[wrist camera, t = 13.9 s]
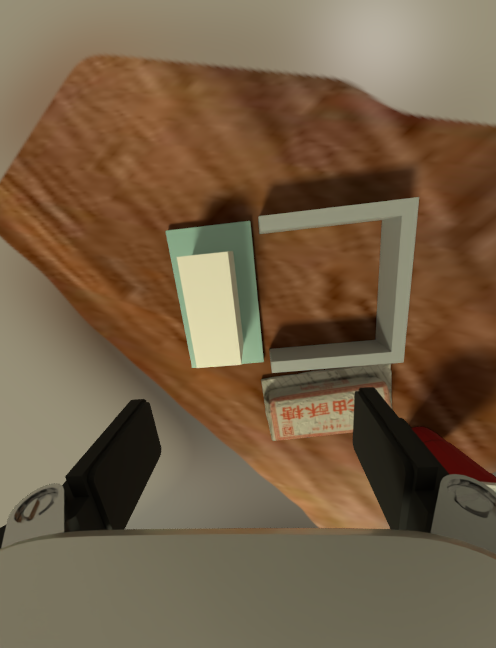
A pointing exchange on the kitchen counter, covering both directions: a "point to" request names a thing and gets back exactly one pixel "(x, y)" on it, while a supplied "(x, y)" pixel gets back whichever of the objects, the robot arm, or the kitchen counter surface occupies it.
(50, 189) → the kitchen counter surface
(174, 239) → the pad
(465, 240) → the kitchen counter surface
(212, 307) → the carton
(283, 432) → the packaged product
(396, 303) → the frame
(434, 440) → the plastic cup
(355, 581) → the robot arm
